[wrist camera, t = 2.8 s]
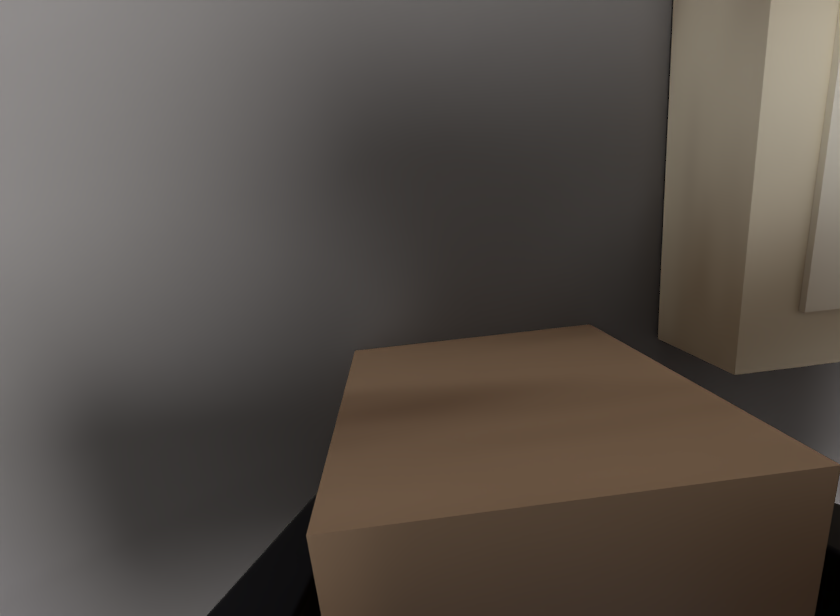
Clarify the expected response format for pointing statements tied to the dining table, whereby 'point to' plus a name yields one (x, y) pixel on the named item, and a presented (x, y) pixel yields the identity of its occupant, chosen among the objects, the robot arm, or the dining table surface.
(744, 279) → the board
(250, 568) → the robot arm
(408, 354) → the cube
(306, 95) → the dining table surface
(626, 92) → the dining table surface
